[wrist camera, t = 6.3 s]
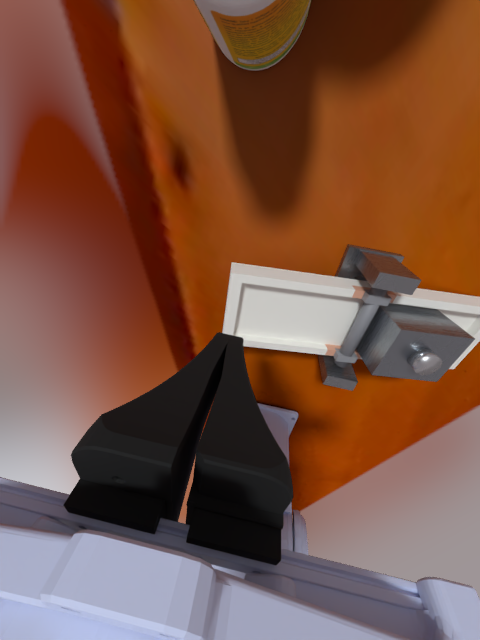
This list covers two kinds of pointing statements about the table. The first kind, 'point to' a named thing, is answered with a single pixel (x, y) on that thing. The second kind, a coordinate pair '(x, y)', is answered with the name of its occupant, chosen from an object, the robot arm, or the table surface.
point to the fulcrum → (380, 274)
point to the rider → (411, 343)
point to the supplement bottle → (254, 28)
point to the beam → (324, 311)
